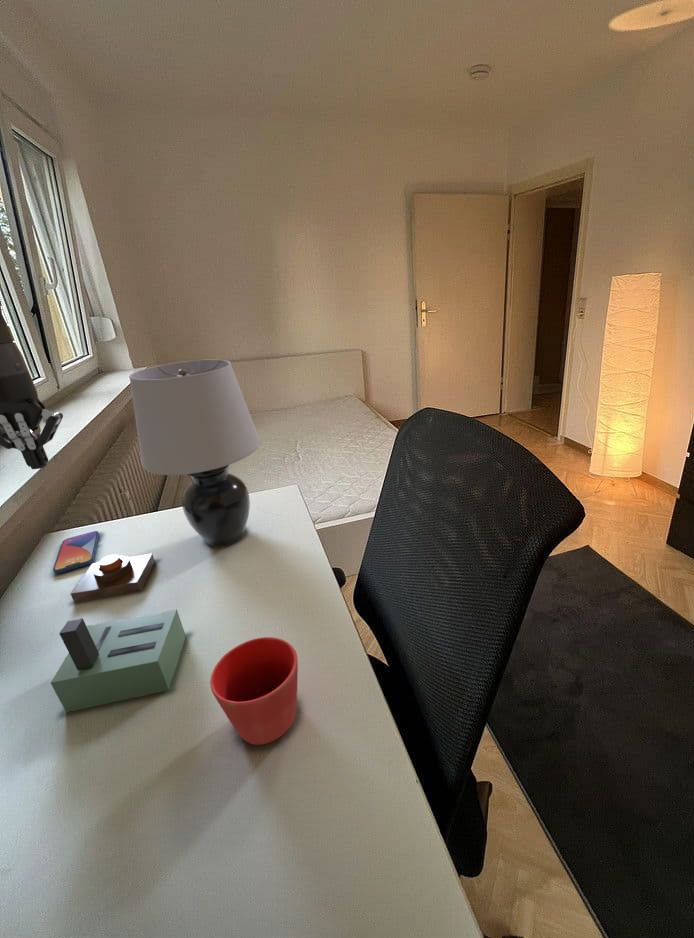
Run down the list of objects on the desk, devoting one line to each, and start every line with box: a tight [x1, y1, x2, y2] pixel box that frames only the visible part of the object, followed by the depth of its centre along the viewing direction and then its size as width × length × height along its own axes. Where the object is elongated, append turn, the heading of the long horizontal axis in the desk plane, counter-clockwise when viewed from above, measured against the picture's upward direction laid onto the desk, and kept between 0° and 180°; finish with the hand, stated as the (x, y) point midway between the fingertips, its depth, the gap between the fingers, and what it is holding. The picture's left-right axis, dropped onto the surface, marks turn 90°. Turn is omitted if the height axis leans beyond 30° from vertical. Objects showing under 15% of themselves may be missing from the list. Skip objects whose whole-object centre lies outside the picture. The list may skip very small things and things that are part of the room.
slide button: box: [58, 618, 99, 670], centre depth 63 cm, size 2×2×7 cm
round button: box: [98, 554, 122, 572], centre depth 90 cm, size 4×4×2 cm
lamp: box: [128, 358, 261, 547], centre depth 97 cm, size 24×24×40 cm
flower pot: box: [209, 636, 299, 746], centre depth 59 cm, size 11×11×10 cm
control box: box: [70, 553, 156, 603], centre depth 91 cm, size 12×10×4 cm
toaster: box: [50, 609, 187, 713], centre depth 69 cm, size 14×11×6 cm
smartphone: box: [52, 530, 100, 574], centre depth 102 cm, size 7×15×1 cm, turn 29°
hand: (39, 467), depth 80 cm, fingers closed
